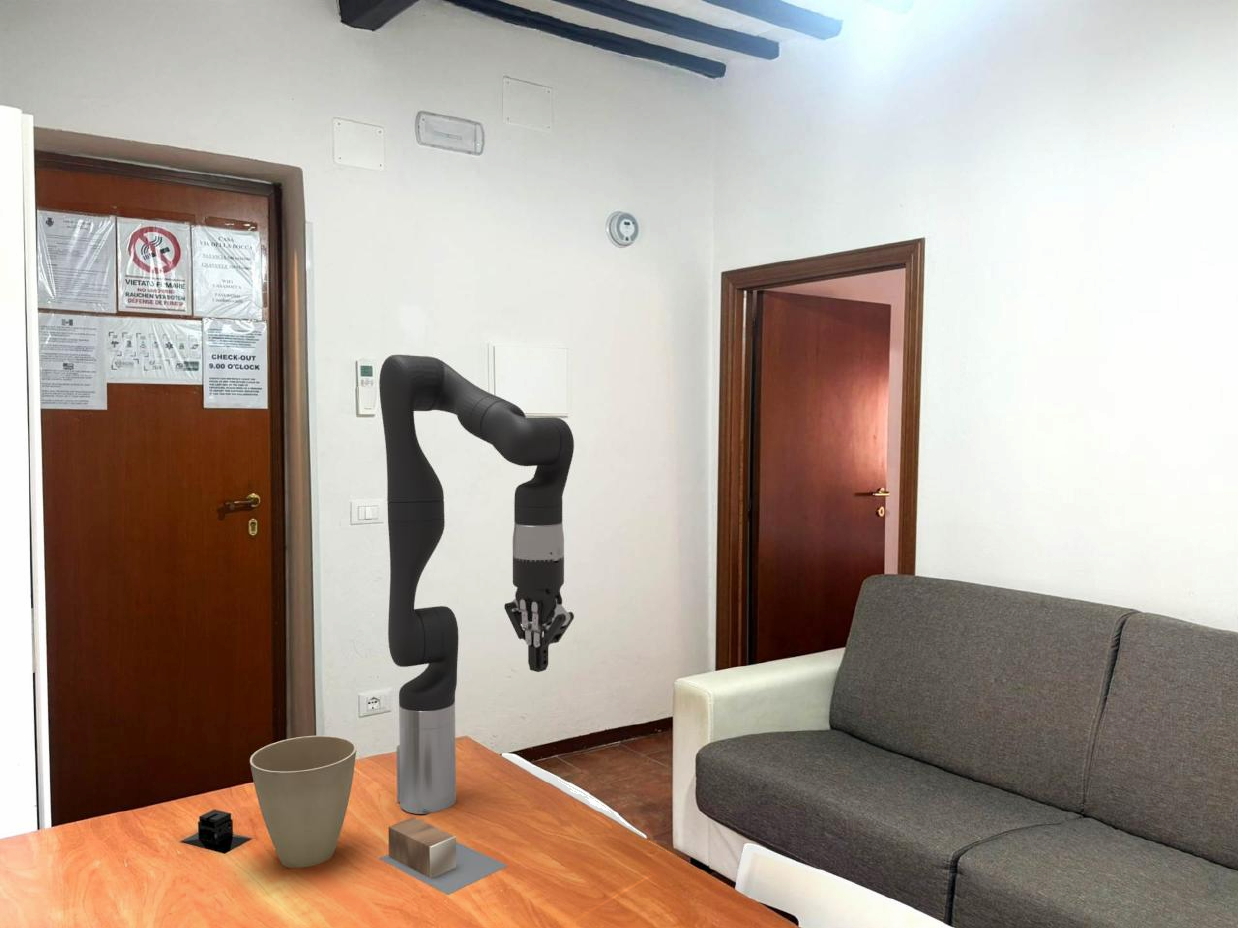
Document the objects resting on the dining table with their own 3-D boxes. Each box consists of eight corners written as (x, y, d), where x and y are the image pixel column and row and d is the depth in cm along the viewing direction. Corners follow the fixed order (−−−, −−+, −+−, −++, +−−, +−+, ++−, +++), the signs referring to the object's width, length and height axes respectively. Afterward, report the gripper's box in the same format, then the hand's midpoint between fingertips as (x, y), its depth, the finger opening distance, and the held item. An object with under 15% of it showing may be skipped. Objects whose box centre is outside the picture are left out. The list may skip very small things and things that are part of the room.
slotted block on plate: (167, 845, 146) (167, 816, 146) (206, 826, 153) (205, 798, 153) (227, 861, 141) (227, 831, 141) (264, 840, 148) (264, 812, 147)
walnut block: (431, 878, 134) (388, 856, 140) (456, 866, 137) (413, 846, 144) (430, 847, 134) (388, 826, 140) (456, 836, 137) (413, 817, 144)
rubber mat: (378, 860, 140) (378, 858, 140) (438, 835, 148) (438, 833, 148) (448, 897, 130) (448, 894, 130) (508, 868, 138) (508, 865, 138)
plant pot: (328, 826, 152) (326, 728, 151) (376, 857, 141) (375, 752, 140) (235, 857, 141) (232, 751, 140) (279, 893, 131) (277, 779, 130)
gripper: (489, 551, 141) (489, 667, 142) (551, 561, 132) (551, 684, 133) (526, 546, 146) (526, 657, 147) (588, 555, 138) (588, 673, 139)
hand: (538, 670), depth 140 cm, fingers closed
